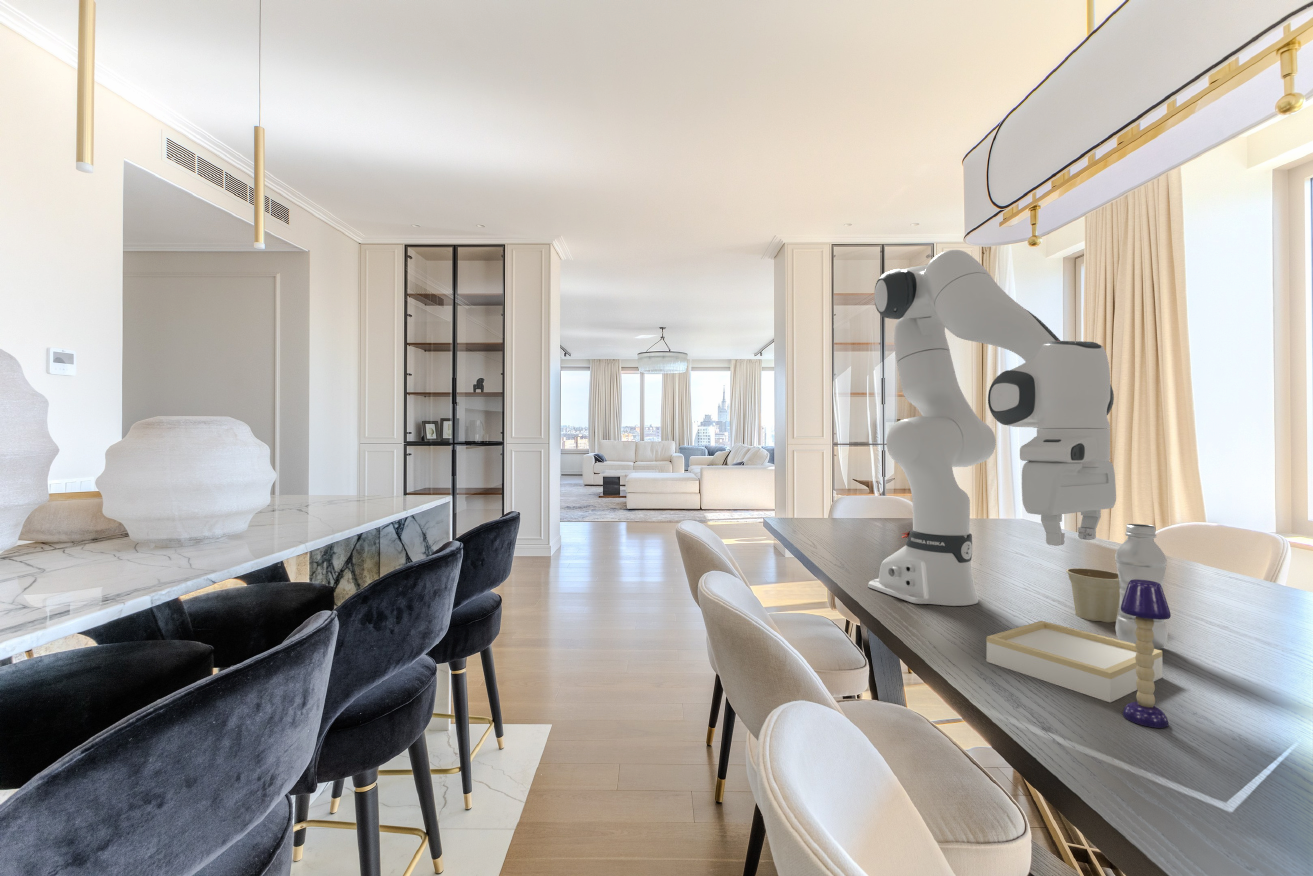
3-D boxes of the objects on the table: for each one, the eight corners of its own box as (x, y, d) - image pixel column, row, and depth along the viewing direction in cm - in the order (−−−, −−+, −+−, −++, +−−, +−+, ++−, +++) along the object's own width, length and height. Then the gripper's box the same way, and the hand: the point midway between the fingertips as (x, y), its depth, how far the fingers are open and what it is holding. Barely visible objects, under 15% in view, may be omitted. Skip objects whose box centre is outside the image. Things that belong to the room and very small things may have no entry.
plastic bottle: (1178, 656, 91) (1178, 529, 91) (1128, 653, 92) (1129, 527, 93) (1152, 642, 97) (1152, 523, 98) (1106, 639, 99) (1106, 522, 99)
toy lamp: (1111, 709, 73) (1111, 576, 73) (1151, 710, 73) (1151, 577, 73) (1139, 727, 68) (1139, 585, 68) (1182, 730, 68) (1182, 587, 68)
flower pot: (1131, 619, 110) (1131, 573, 110) (1123, 630, 104) (1124, 581, 104) (1071, 608, 117) (1071, 565, 117) (1061, 618, 111) (1061, 573, 111)
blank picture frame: (986, 661, 89) (986, 636, 89) (1041, 643, 97) (1041, 620, 97) (1110, 702, 75) (1110, 673, 75) (1162, 677, 83) (1162, 650, 83)
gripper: (1082, 448, 94) (1081, 533, 94) (1012, 448, 83) (1012, 544, 83) (1129, 448, 88) (1128, 539, 88) (1061, 449, 78) (1060, 552, 78)
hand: (1071, 542), depth 86 cm, fingers open, 8 cm apart
